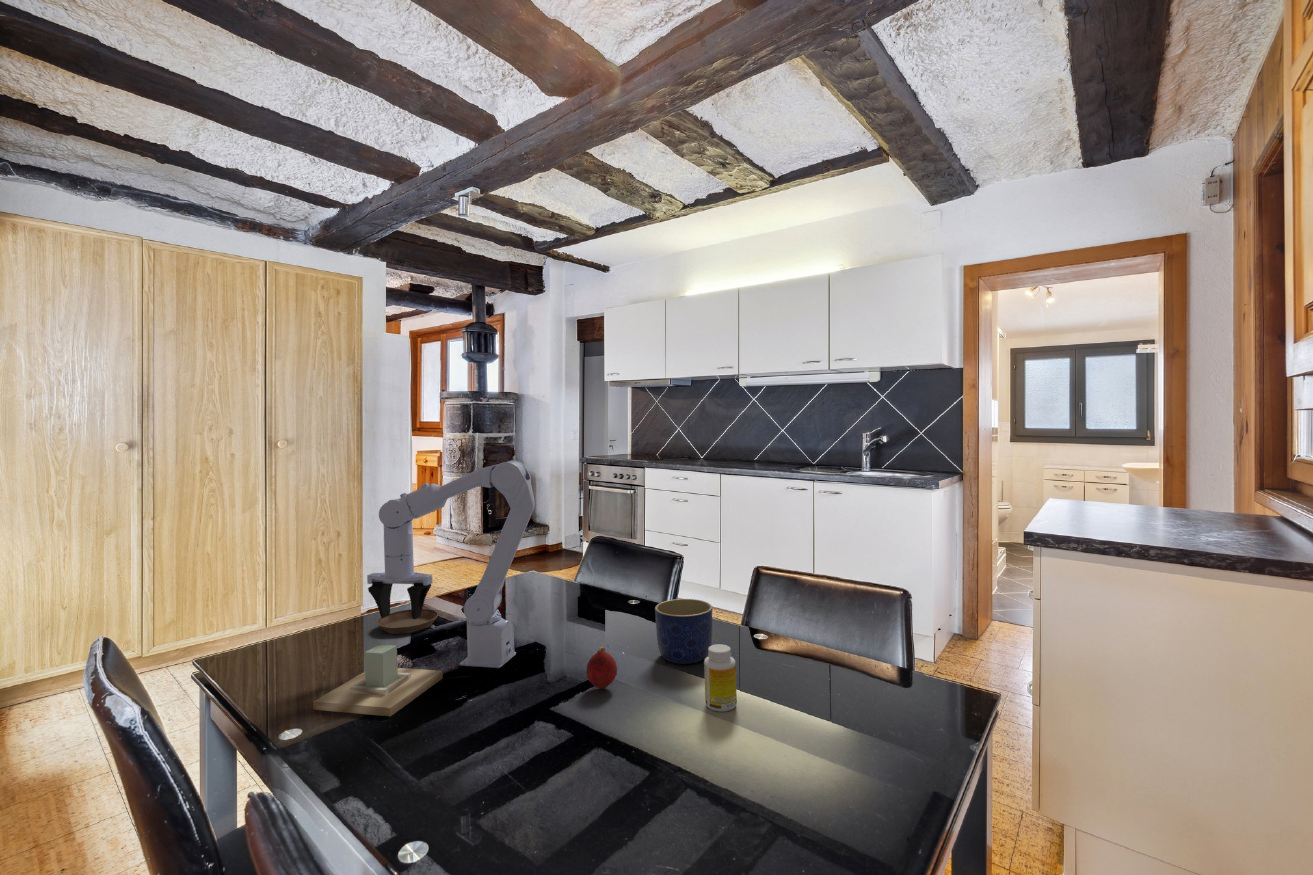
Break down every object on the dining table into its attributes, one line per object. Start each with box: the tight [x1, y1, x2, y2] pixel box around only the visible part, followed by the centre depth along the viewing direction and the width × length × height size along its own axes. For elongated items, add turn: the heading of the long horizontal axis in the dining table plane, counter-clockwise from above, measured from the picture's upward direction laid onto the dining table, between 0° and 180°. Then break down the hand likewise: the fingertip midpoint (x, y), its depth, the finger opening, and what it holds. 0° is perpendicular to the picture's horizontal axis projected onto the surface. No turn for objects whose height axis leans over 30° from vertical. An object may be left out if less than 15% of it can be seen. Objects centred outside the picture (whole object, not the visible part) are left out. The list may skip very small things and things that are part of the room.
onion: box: [586, 646, 618, 691], centre depth 110 cm, size 6×6×8 cm
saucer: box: [376, 608, 439, 635], centre depth 151 cm, size 15×15×3 cm
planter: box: [654, 598, 713, 665], centre depth 125 cm, size 12×12×11 cm
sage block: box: [364, 644, 398, 688], centre depth 111 cm, size 4×4×7 cm
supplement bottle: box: [703, 643, 738, 713], centre depth 102 cm, size 6×6×10 cm
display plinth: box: [312, 667, 444, 717], centre depth 111 cm, size 16×16×2 cm
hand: (400, 617), depth 125 cm, fingers open, 7 cm apart
